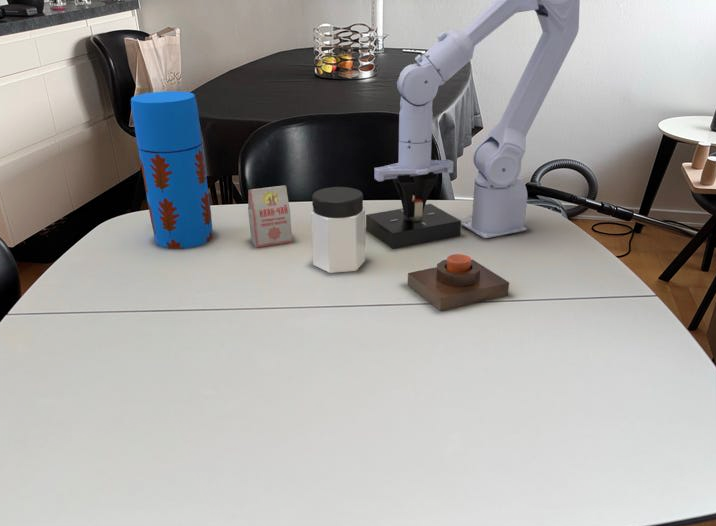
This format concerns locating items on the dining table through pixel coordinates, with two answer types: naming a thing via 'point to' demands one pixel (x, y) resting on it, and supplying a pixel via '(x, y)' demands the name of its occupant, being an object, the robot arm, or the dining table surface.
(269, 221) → the tea bag
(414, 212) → the knob
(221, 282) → the dining table surface
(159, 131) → the thermos
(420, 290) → the button block
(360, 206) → the jar
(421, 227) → the panel
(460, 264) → the button
